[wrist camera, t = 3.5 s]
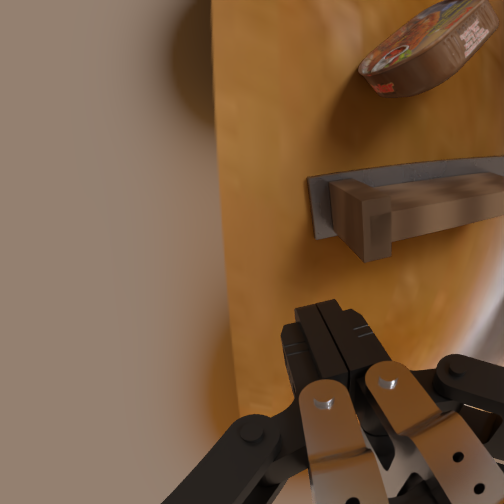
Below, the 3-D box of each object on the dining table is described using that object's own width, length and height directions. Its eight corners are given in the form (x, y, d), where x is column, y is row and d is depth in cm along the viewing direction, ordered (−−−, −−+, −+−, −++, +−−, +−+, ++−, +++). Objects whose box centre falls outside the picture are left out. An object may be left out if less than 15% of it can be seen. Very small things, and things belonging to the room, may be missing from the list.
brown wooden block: (490, 162, 22) (532, 175, 17) (489, 200, 24) (529, 218, 19) (328, 182, 22) (361, 201, 17) (333, 230, 24) (364, 262, 18)
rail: (550, 154, 23) (552, 155, 23) (548, 190, 25) (551, 191, 25) (306, 177, 23) (308, 178, 22) (314, 237, 25) (316, 239, 24)
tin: (436, 0, 16) (494, -20, 9) (455, 26, 17) (516, 13, 10) (340, 77, 20) (396, 59, 12) (366, 107, 21) (430, 105, 13)
